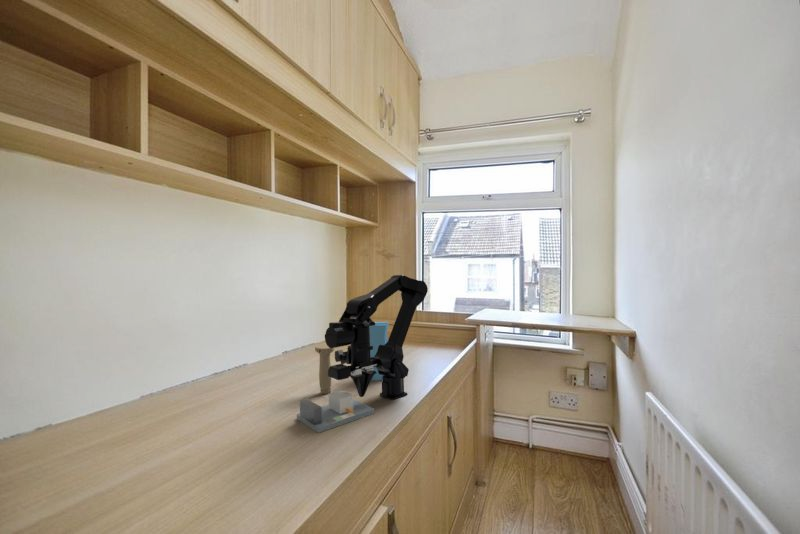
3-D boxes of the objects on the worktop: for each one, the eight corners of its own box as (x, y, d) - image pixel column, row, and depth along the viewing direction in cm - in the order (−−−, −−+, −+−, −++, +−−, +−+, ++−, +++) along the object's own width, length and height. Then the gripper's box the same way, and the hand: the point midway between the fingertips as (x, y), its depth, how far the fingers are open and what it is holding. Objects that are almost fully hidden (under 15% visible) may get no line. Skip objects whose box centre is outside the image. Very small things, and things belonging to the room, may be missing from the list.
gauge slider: (341, 404, 98) (340, 390, 98) (359, 412, 91) (358, 397, 91) (328, 408, 95) (328, 393, 95) (346, 417, 89) (345, 401, 89)
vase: (388, 380, 124) (386, 324, 125) (366, 380, 125) (365, 325, 125) (390, 373, 132) (389, 322, 133) (370, 374, 133) (368, 322, 133)
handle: (328, 396, 109) (327, 349, 109) (313, 393, 112) (312, 347, 112) (338, 391, 113) (337, 346, 114) (323, 389, 116) (322, 344, 117)
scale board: (350, 401, 103) (350, 396, 104) (374, 413, 95) (374, 407, 95) (296, 418, 92) (296, 412, 92) (318, 433, 83) (318, 426, 83)
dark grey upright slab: (307, 414, 92) (306, 399, 92) (321, 423, 86) (321, 406, 86) (300, 416, 91) (299, 401, 91) (314, 425, 85) (314, 409, 85)
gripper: (369, 335, 112) (370, 383, 111) (317, 343, 99) (318, 398, 99) (391, 339, 103) (393, 391, 103) (338, 349, 91) (339, 408, 91)
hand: (361, 396), depth 99 cm, fingers closed
